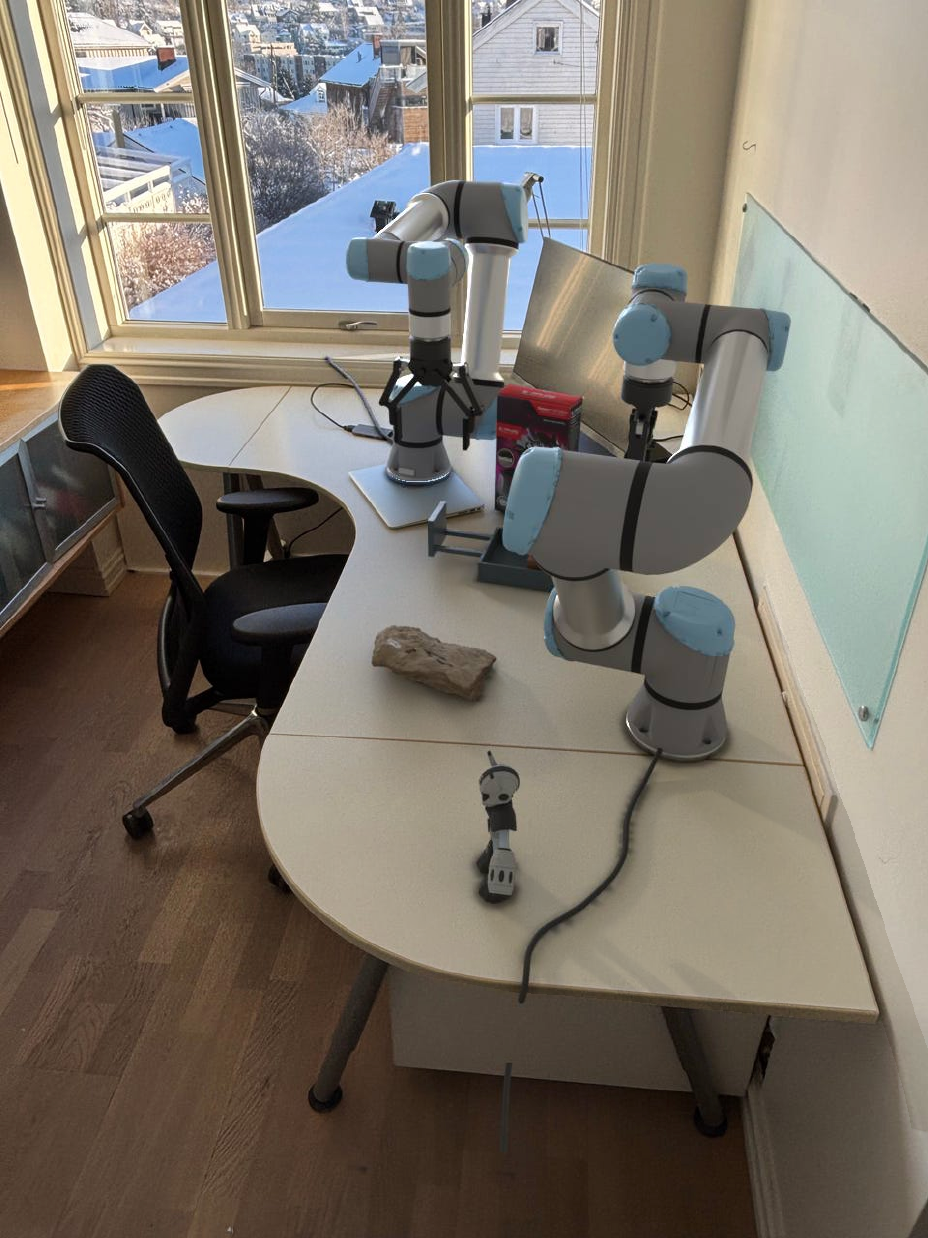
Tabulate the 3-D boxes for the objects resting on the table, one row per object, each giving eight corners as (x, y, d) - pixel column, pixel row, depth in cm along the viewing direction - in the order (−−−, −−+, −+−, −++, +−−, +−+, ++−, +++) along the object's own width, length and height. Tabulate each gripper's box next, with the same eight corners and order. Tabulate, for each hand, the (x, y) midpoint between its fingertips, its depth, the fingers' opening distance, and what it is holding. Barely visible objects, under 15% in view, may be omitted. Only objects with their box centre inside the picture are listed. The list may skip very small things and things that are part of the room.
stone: (347, 674, 149) (354, 641, 146) (379, 641, 162) (386, 611, 160) (469, 718, 145) (478, 685, 143) (492, 681, 159) (500, 650, 156)
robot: (522, 941, 111) (530, 823, 99) (481, 942, 110) (485, 824, 99) (507, 820, 127) (513, 708, 116) (472, 821, 127) (474, 708, 115)
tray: (568, 554, 189) (571, 510, 183) (554, 592, 176) (557, 546, 171) (445, 537, 194) (445, 494, 189) (423, 572, 182) (422, 527, 176)
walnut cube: (525, 582, 178) (527, 559, 175) (531, 569, 182) (532, 547, 179) (551, 585, 177) (552, 563, 174) (556, 573, 181) (557, 550, 178)
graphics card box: (491, 511, 204) (494, 391, 189) (505, 498, 209) (509, 381, 194) (563, 528, 197) (572, 406, 182) (575, 515, 202) (585, 395, 187)
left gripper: (502, 333, 167) (499, 442, 179) (371, 323, 172) (377, 429, 184) (492, 347, 161) (490, 458, 173) (357, 335, 166) (364, 445, 178)
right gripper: (667, 407, 126) (648, 543, 138) (680, 351, 146) (663, 474, 158) (612, 401, 128) (598, 536, 139) (633, 347, 148) (619, 469, 159)
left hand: (432, 444), depth 179 cm, fingers open, 13 cm apart
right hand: (633, 503), depth 149 cm, fingers open, 13 cm apart
